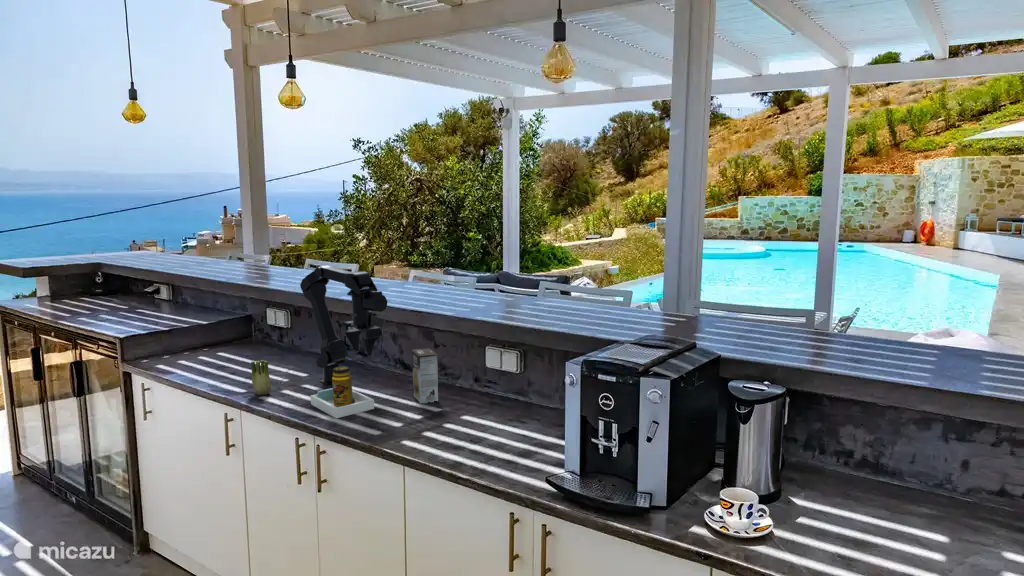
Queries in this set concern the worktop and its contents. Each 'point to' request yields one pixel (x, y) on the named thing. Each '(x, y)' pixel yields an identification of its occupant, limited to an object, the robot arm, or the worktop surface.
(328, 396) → the plate
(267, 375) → the fennel bulb
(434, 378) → the coffee box
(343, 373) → the condiment
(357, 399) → the pale mint tray
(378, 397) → the worktop surface
